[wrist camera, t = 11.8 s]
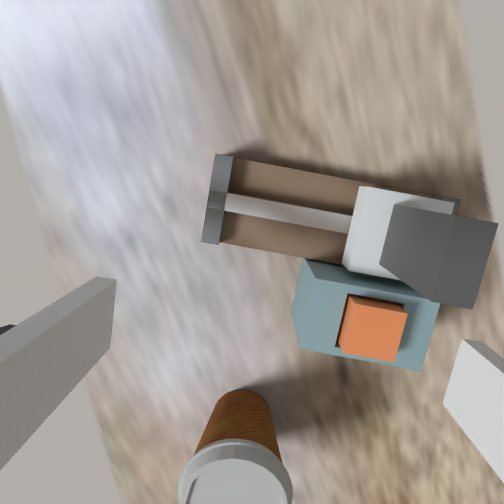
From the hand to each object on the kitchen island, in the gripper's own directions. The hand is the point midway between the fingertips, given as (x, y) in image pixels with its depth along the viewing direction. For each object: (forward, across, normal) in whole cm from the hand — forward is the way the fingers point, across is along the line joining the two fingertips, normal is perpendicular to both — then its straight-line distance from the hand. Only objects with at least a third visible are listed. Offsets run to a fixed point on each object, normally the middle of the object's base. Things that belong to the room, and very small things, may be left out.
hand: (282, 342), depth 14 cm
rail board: (+25, +5, +3) cm, 25 cm away
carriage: (+21, +10, +3) cm, 23 cm away
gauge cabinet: (+25, +8, -4) cm, 27 cm away
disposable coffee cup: (+25, 0, -20) cm, 32 cm away
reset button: (+21, +8, -4) cm, 23 cm away
